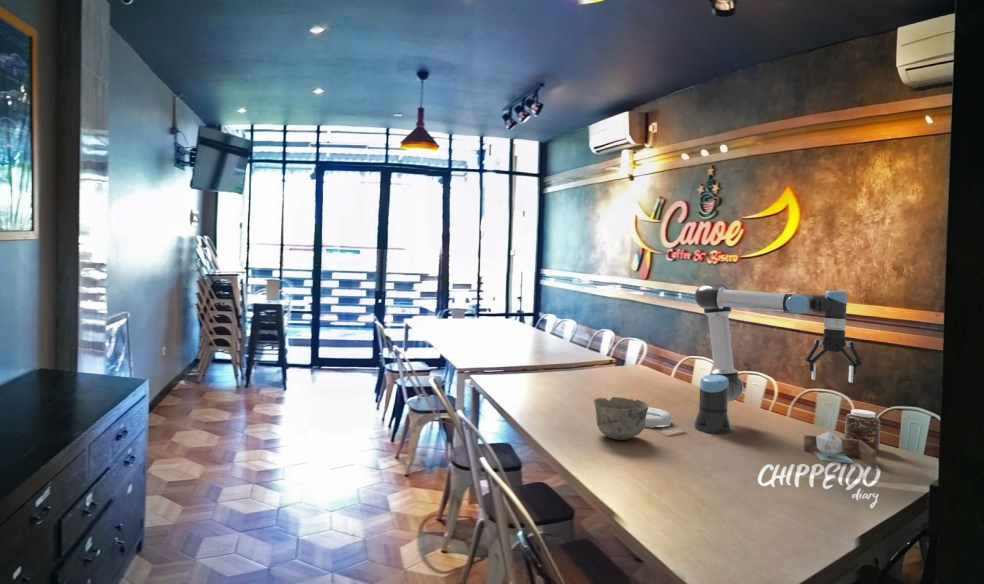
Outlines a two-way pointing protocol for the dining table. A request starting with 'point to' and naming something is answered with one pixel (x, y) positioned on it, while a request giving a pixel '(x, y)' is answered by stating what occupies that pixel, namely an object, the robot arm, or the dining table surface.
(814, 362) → the robot arm
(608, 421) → the bowl
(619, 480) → the dining table surface
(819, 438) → the die
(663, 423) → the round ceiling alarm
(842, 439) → the arena
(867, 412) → the jar
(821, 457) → the mat
